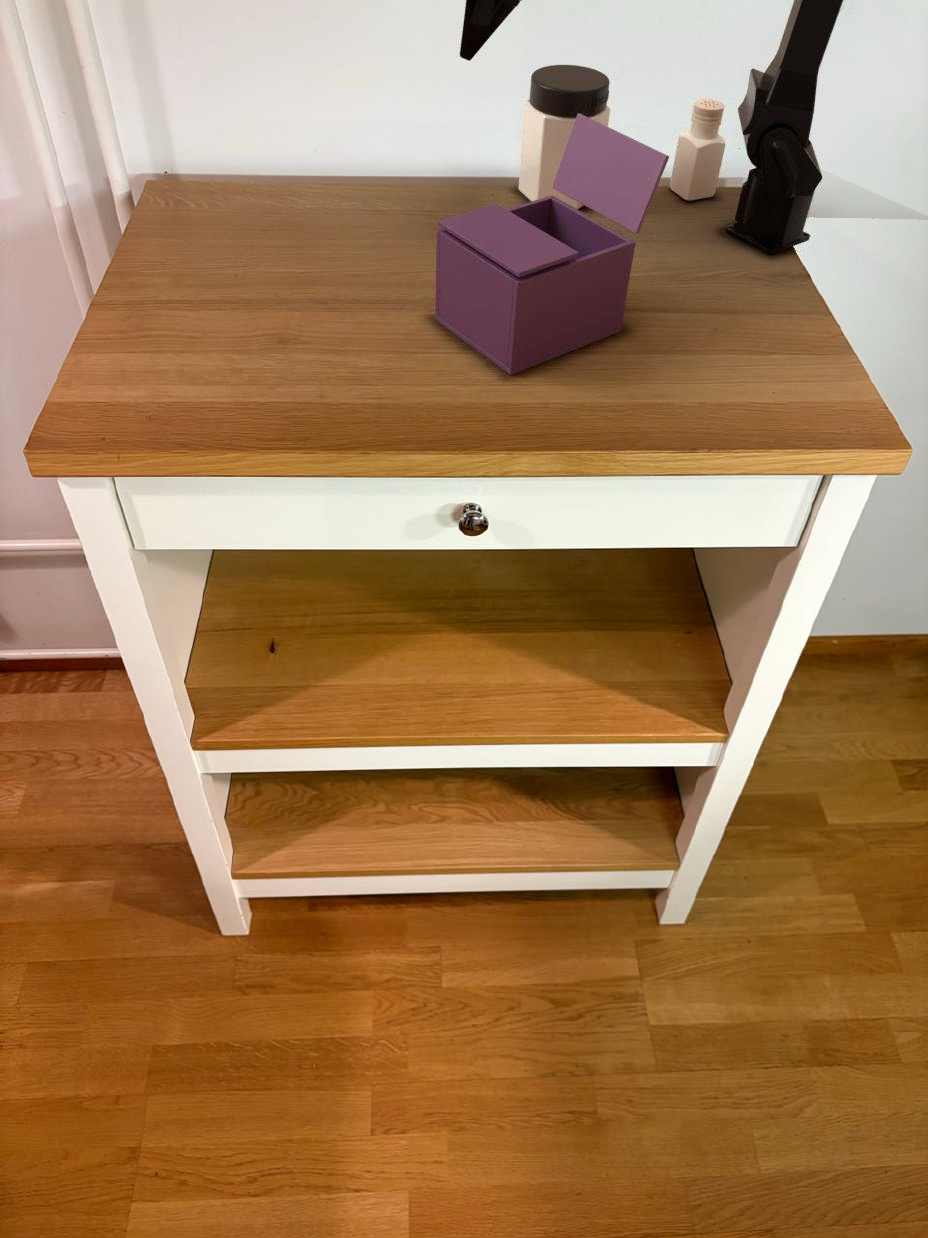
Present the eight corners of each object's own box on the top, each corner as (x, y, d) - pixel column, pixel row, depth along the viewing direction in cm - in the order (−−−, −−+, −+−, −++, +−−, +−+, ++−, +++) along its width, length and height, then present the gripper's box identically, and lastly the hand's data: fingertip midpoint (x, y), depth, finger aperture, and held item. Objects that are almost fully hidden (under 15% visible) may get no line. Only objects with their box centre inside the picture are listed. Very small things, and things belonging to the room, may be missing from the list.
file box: (543, 282, 96) (552, 186, 89) (620, 331, 90) (637, 232, 83) (435, 320, 90) (436, 220, 83) (510, 375, 84) (518, 273, 78)
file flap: (551, 187, 89) (554, 187, 89) (635, 233, 83) (638, 234, 83) (577, 112, 86) (580, 113, 86) (666, 155, 80) (669, 156, 80)
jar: (568, 218, 106) (582, 98, 97) (505, 196, 109) (513, 78, 100) (610, 191, 111) (626, 75, 102) (549, 171, 114) (560, 57, 105)
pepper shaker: (666, 188, 112) (683, 99, 105) (695, 183, 113) (714, 95, 106) (686, 203, 109) (704, 112, 103) (716, 198, 111) (736, 107, 104)
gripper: (457, -207, 89) (406, -20, 100) (427, -173, 76) (373, 38, 87) (571, -152, 90) (508, 26, 101) (560, -110, 78) (490, 89, 89)
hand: (470, 42), depth 94 cm, fingers open, 9 cm apart
